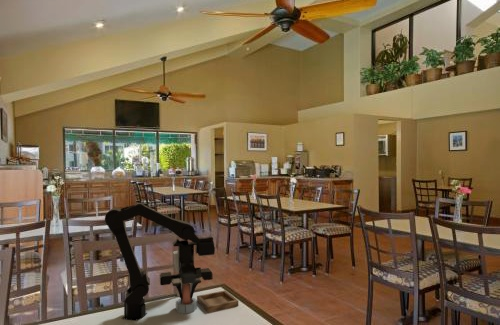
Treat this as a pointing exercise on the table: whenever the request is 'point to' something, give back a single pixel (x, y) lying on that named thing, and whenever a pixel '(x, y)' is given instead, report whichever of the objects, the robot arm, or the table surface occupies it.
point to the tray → (217, 301)
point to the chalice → (176, 266)
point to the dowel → (186, 293)
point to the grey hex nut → (186, 306)
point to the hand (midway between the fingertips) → (186, 299)
